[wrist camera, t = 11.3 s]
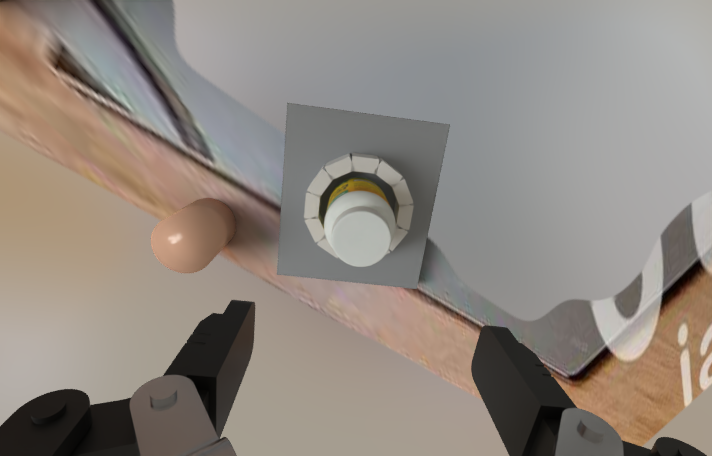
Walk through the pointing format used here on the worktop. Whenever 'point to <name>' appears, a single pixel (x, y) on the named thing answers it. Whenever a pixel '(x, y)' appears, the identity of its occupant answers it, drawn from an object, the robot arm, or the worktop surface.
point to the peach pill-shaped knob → (193, 235)
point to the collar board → (347, 160)
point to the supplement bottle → (359, 222)
